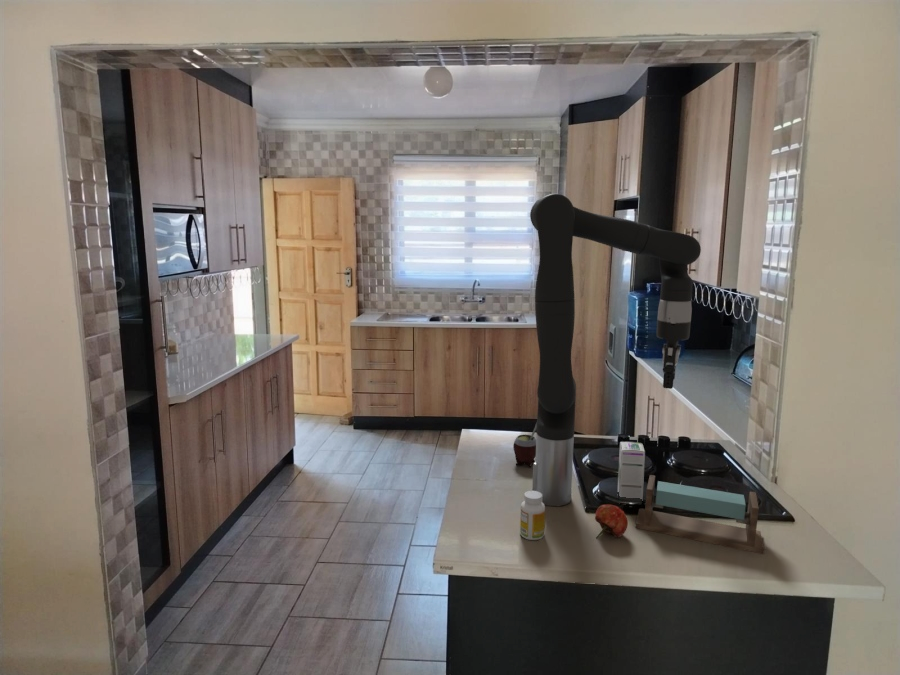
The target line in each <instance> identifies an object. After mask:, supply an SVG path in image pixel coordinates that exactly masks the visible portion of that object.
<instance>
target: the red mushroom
mask: <svg viewBox="0 0 900 675" xmlns="http://www.w3.org/2000/svg"><path fill="white" fill-rule="evenodd" d="M624 506H625V504H621V505H620V506H617V505H613V504H610V503H609V504H601V505H600V506H598V508H597V509H596V511H595V515H594V520H595V521H596V522H597V523H598V524H599V526H600V527H601V530H600V533H598V534H597V536H596V537H595V539H598V538H599V537H600V536H601V535H602V534H603V533H604V531H605V532H607V533H608V534H611V535H612V536H613V537H616V538H619V537H622V536H623V535H624V534H625V533H626V531H627V529H628V525H629V524H628V523H629V522H628V516H627V515H626V514H625V512H624V510H623V508H624Z"/></svg>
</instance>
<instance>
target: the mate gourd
mask: <svg viewBox="0 0 900 675" xmlns="http://www.w3.org/2000/svg"><path fill="white" fill-rule="evenodd" d="M535 432H537V422H536V423H535V426H534V428H533V430H532V434H519V435H517V436H516V437H515V439H514V441H513V445H512V446H513V452H514V455H515V460H516V461H515V462H516V463H515V465H516V466H523V465H525V466H526V467H528V468H531V469H532V468H533V465H532V464H534V462H535V461H536V437H535V436H534V435H535Z"/></svg>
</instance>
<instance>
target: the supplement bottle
mask: <svg viewBox="0 0 900 675" xmlns="http://www.w3.org/2000/svg"><path fill="white" fill-rule="evenodd" d="M545 523H546V506H545V504H543V503H542V494H541V493H540V492H538V491H532V490H528V491H525V492H524V496H523V501H522V502H521V504H520V521H519V524H520V526H519V528H520V529H519V533H520V535H521V537H523V538H524V539H526V540H528V541H537V540H541V539H543V537H544V536H545Z"/></svg>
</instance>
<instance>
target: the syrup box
mask: <svg viewBox="0 0 900 675" xmlns="http://www.w3.org/2000/svg"><path fill="white" fill-rule="evenodd" d="M645 457H646V450H645V448H644V445H643V443H642V442H636V441H620V442H619V454H618V472H617V473H618V475H617V492H619V496H620V497H626V498H640V499H642V500H643V498H644V497H643V496H644V479H645V478H644V477H645V459H646V458H645Z"/></svg>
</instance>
